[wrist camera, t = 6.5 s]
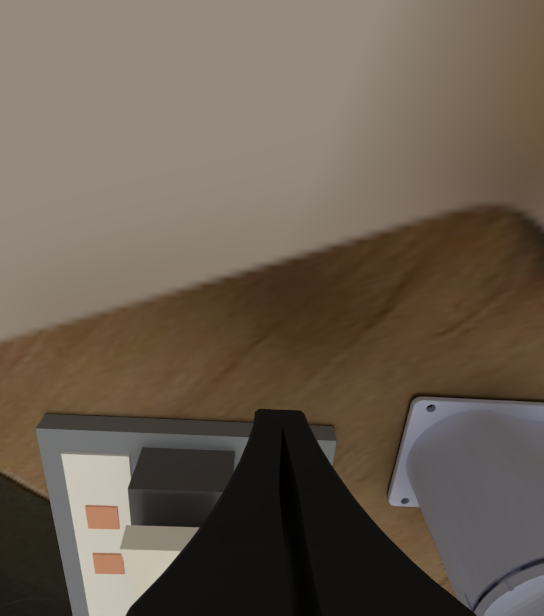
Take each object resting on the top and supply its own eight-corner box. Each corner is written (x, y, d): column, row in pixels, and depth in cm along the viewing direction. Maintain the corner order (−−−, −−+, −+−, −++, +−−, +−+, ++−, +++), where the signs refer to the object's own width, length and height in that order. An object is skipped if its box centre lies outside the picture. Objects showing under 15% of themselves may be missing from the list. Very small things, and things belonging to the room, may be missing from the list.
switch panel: (333, 426, 24) (346, 481, 21) (292, 669, 35) (296, 735, 31) (46, 413, 23) (6, 468, 20) (92, 666, 34) (72, 733, 30)
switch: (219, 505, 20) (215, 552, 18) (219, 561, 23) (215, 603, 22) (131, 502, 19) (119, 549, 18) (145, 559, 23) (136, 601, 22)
